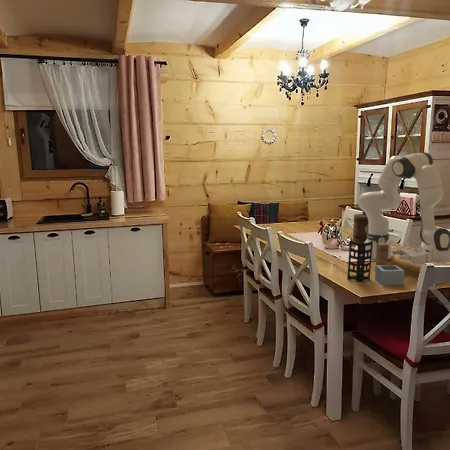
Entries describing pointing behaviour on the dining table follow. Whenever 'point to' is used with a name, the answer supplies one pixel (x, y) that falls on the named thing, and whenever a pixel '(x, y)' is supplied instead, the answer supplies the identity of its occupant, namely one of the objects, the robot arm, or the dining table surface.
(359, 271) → the holder
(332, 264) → the dining table surface
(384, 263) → the peg
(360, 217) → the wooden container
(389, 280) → the box
